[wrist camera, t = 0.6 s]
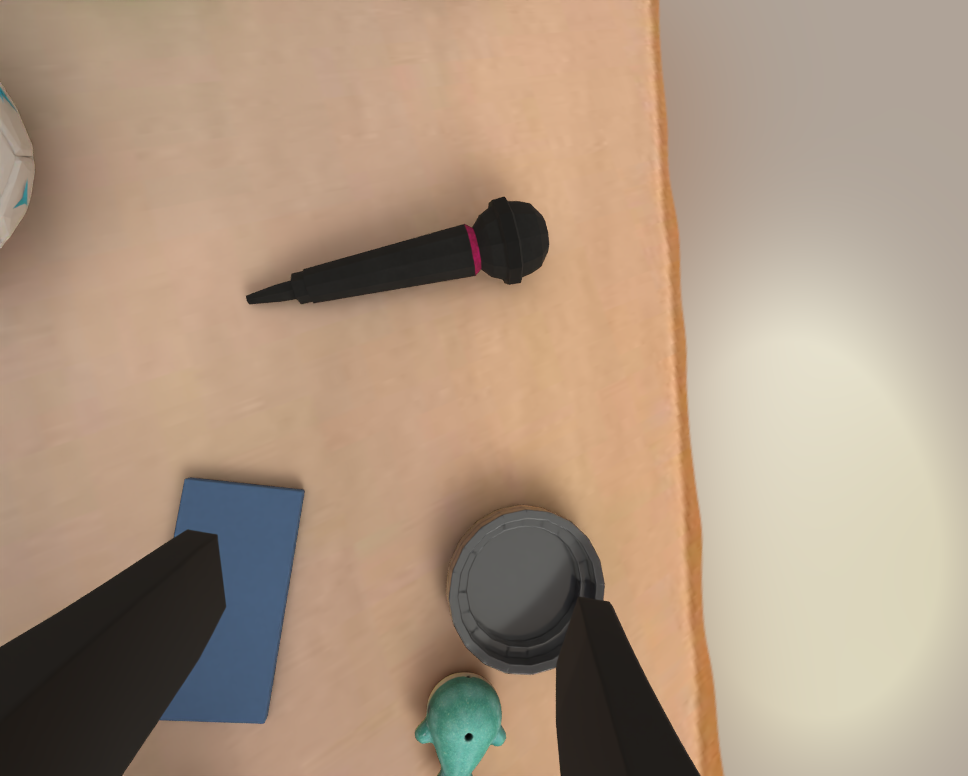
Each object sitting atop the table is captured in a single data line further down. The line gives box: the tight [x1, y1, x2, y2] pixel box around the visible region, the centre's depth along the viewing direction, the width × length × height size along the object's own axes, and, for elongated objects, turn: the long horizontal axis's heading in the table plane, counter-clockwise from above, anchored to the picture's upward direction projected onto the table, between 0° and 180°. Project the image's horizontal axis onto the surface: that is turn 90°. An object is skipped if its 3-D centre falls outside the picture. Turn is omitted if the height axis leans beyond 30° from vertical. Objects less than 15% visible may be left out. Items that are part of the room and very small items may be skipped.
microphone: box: [246, 197, 549, 304], centre depth 32 cm, size 6×6×20 cm
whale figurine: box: [415, 672, 506, 776], centre depth 31 cm, size 6×7×4 cm
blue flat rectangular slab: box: [159, 478, 305, 724], centre depth 30 cm, size 14×7×1 cm, turn 173°
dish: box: [446, 505, 605, 675], centre depth 33 cm, size 10×10×2 cm
